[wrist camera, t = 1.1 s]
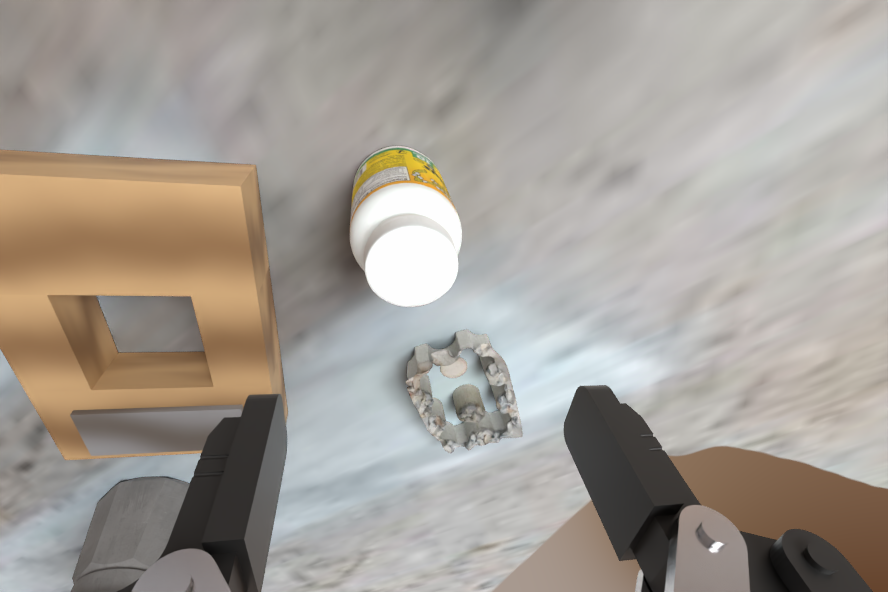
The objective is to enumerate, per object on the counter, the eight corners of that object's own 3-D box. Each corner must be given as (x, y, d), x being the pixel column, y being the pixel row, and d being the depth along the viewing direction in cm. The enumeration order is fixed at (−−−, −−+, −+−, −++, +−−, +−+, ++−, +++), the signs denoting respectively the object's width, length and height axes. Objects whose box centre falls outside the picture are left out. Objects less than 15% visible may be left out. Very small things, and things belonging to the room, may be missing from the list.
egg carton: (397, 345, 33) (400, 383, 30) (491, 316, 33) (505, 351, 30) (434, 430, 39) (440, 470, 36) (514, 406, 39) (528, 444, 36)
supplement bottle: (337, 163, 25) (322, 237, 17) (424, 129, 24) (451, 187, 16) (376, 242, 28) (378, 335, 20) (454, 212, 27) (488, 295, 20)
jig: (-41, 147, 22) (-113, 171, 18) (255, 164, 24) (238, 189, 21) (92, 419, 32) (61, 465, 29) (287, 412, 35) (279, 453, 32)
